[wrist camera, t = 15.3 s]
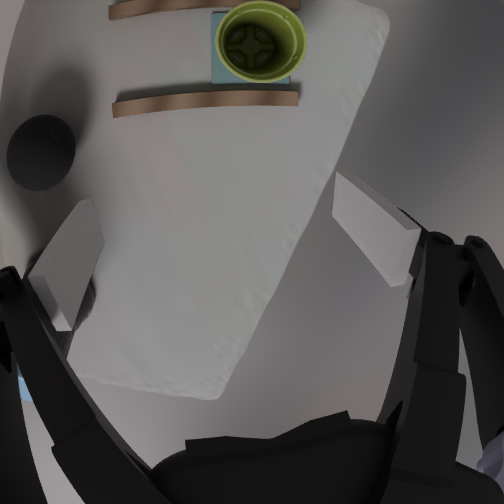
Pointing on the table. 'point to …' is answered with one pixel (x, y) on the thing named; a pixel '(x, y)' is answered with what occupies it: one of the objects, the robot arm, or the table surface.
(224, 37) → the plant pot
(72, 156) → the speaker
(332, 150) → the table surface
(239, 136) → the table surface
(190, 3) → the pair of walnut rails
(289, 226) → the table surface
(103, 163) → the table surface
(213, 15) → the marked pad
